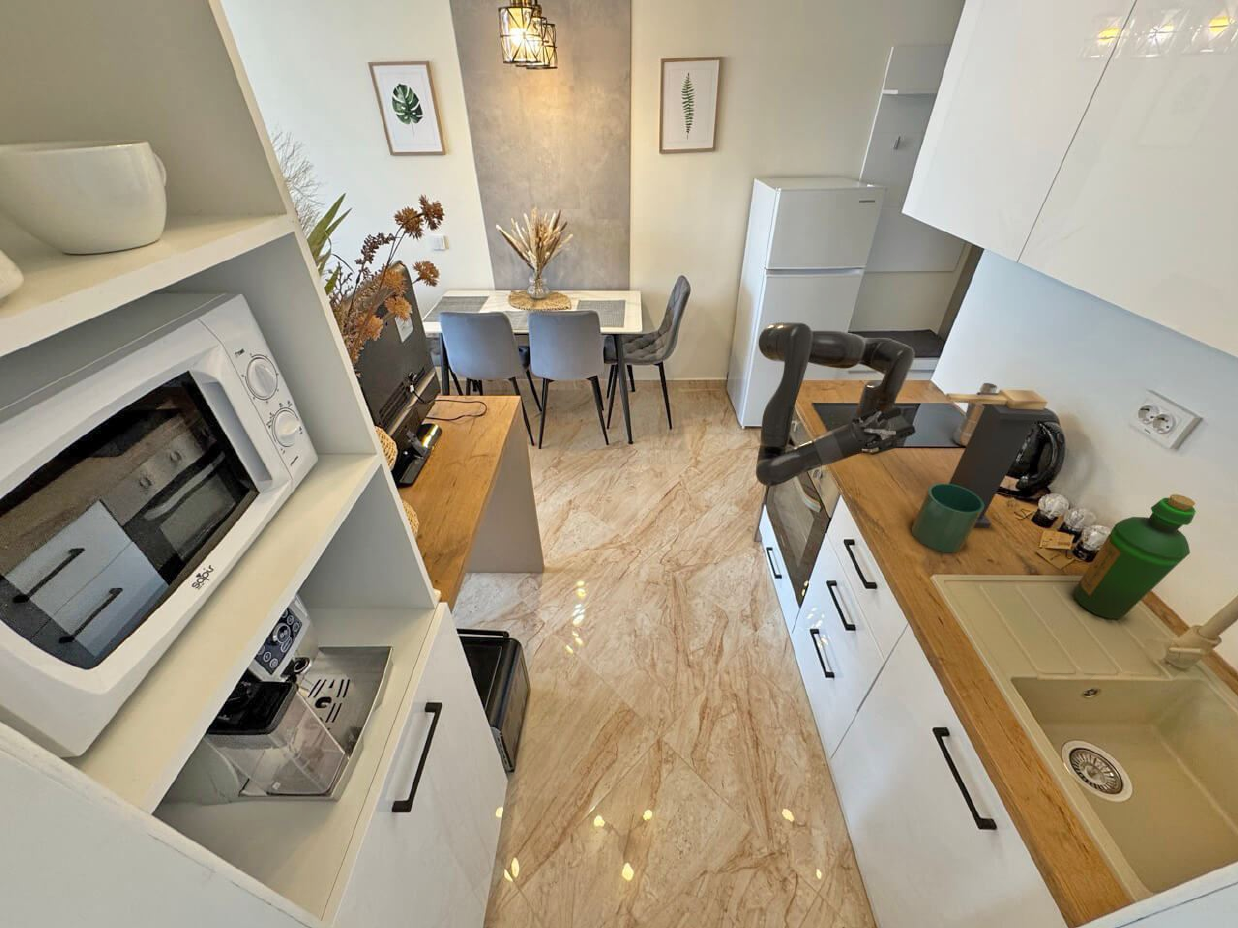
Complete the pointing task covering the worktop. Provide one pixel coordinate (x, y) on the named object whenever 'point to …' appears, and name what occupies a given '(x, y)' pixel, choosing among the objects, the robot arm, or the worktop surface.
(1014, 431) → the stand
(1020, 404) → the spatula
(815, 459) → the robot arm
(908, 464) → the worktop surface
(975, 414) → the plastic bottle
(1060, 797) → the worktop surface
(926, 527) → the crock
